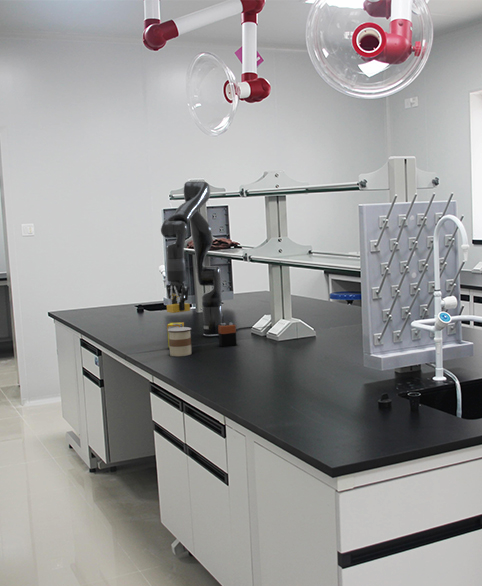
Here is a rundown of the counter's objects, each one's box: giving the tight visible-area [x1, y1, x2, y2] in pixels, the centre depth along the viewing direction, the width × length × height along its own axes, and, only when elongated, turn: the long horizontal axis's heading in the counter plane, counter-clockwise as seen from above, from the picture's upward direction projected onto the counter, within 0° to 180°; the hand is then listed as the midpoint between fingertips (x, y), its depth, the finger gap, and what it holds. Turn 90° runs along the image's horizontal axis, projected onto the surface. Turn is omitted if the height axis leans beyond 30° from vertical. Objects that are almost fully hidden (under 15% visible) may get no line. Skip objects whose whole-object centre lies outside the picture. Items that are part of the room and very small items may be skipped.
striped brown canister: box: [168, 326, 193, 357], centre depth 294 cm, size 10×10×11 cm
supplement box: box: [166, 321, 185, 349], centre depth 308 cm, size 6×6×11 cm
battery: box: [218, 322, 237, 348], centre depth 310 cm, size 4×7×10 cm, turn 116°
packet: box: [166, 302, 191, 314], centre depth 292 cm, size 8×5×3 cm, turn 132°
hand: (178, 309), depth 292 cm, fingers closed on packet, 5 cm apart
